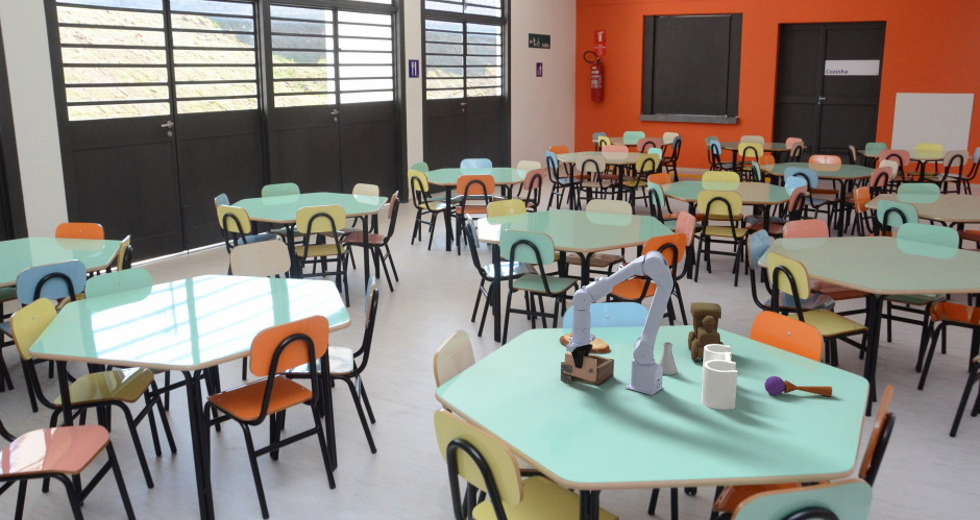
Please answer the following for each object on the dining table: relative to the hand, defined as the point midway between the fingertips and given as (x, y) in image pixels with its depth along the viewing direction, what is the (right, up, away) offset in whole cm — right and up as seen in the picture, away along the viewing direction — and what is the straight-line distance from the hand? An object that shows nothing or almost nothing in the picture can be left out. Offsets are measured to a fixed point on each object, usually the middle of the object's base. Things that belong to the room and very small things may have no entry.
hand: (580, 366), depth 264 cm
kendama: (+67, -8, -8) cm, 68 cm away
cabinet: (+2, -4, +6) cm, 8 cm away
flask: (+30, -3, +11) cm, 33 cm away
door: (0, -3, +1) cm, 3 cm away
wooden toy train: (+47, 0, +27) cm, 54 cm away
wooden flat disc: (+6, +3, +38) cm, 38 cm away
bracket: (+42, -8, -7) cm, 43 cm away
